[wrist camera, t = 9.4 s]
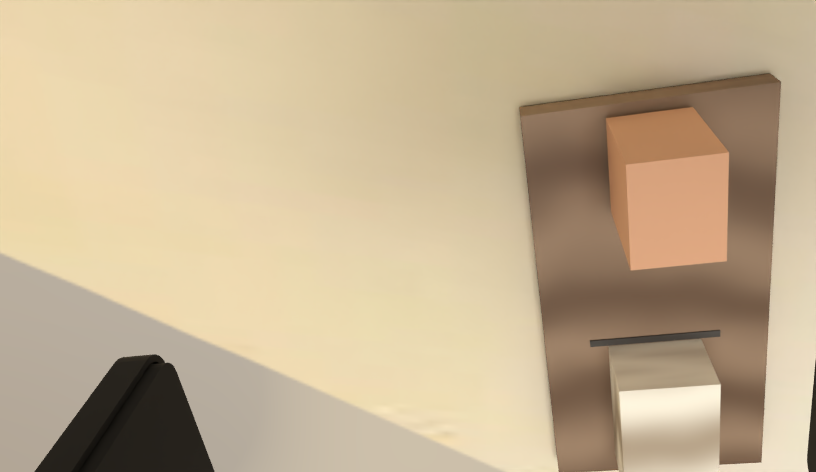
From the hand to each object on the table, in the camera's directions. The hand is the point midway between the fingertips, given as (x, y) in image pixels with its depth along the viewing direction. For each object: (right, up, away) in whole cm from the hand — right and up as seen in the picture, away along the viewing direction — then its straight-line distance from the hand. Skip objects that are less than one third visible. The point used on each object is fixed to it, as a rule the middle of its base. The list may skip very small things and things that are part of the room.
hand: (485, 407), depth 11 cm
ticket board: (+12, -1, +31) cm, 33 cm away
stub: (+11, +6, +26) cm, 28 cm away
